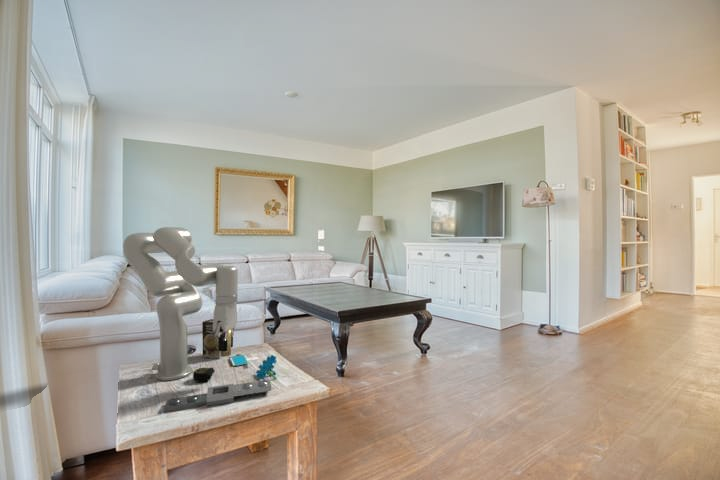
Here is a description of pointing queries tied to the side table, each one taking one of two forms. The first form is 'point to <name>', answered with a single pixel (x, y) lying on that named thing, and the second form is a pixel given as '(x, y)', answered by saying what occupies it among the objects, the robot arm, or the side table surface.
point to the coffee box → (210, 340)
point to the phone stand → (241, 360)
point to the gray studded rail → (218, 395)
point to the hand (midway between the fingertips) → (225, 348)
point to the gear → (267, 368)
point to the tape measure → (203, 374)
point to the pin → (228, 352)
